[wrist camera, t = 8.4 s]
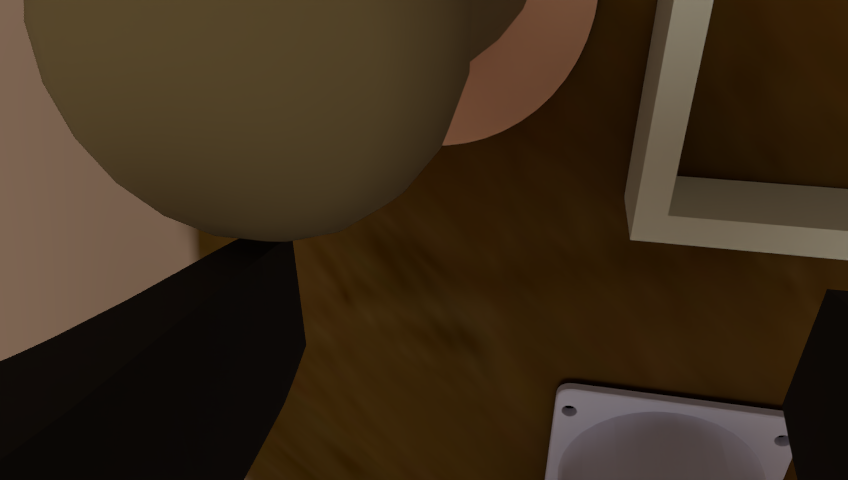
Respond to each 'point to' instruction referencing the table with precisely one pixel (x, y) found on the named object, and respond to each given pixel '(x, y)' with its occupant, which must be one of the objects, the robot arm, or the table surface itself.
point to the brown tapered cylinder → (262, 100)
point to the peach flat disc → (521, 68)
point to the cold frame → (703, 197)
